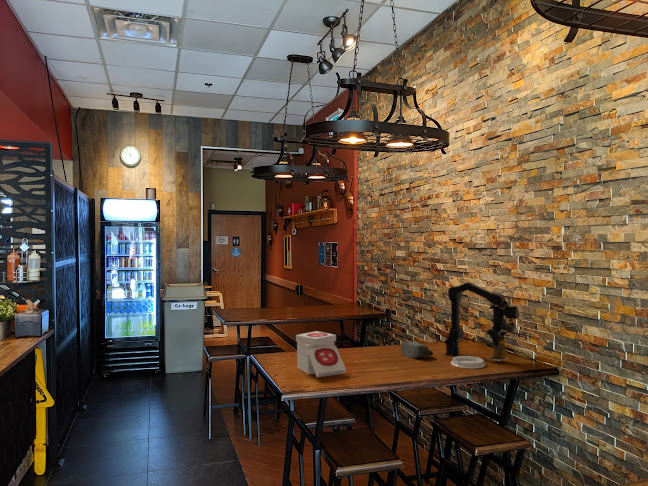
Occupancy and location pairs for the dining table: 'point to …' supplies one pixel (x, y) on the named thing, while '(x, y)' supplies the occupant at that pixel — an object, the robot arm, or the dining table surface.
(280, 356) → the dining table surface
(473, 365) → the collar plate
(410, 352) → the grey rounded jug
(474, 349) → the dining table surface
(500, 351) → the condiment
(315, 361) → the pizza box stack
